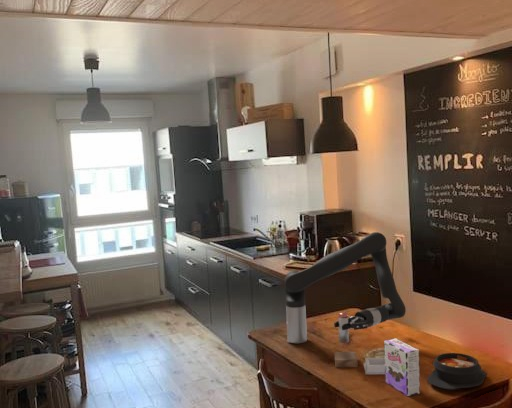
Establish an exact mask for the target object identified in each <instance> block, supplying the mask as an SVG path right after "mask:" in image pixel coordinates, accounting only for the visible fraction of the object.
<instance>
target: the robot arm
mask: <svg viewBox="0 0 512 408" xmlns="http://www.w3.org/2000/svg"><path fill="white" fill-rule="evenodd" d="M367 256H371V258H372V261H373V263H374V264H373V265H374V267H375V271H376V276H377V277H376V278H377V282H378V286H379V290H380V293H381V297H382V298H383V299H388V300H389V303H385V304H383V305H380V306H375V307H370V308H366V309H362V310H358V311H356V312H355V314H354V315H351V316H348V323H347V324H343V325H342V330H346V329H349V330H354V331H356V330H366V329H368V328H371V327H373V326H377V325H379V324H381V323H382V324H383V323H385V322H387V321H389V320H394V319H401V318H404V316H405V314H406V306H405V303H404V301H403V300H402V298H401V295H400V294H399V292H398V290H397V285H396V282H395V279H394V275H393V274H392V271H391V268H390V264H389V261H388V255H387V238H386V236H385V235H384V234H382V233H381V232H378V231H376V232H375V231H374V232H371V233H370V234H367V235H366V236H365V237H363V238H362V239H360V240H358V241H357V242H355V243H352V244H350V245H348V246H345V247H342V248H340V249H337V250H335V251H333V252H331V253H329V254H327V255H325V256H323V257H321V258H320V259H318V260H317V261H316V262H315V263H313V264H312V265H310V266H309V267H307V268H305V269H303V270H300V271H299V270H291V271H289V272H287V273H286V276H285V277H284V287H285V308H286V309H285V310H286V311H285V312H286V313H285V314H286V336H287V337H286V338H287V339H286V340H287V343H291V344H304V343H307V341H308V335H307V334H308V333H307V332H308V331H307V326H308V325H307V313H306V312H307V311H306V306H307V305H306V288H308V287H309V286H311V285H312V284H314V283H316V282H318V281H320V280H323V279H326V278H328V277H330V276H332V275H335V274H337V273H339V272H341V271H343V270H345V269H347V268H349V267H350V266H352V265H353V264H354V263H355V262H357V261H359V260H360V259H362V258H364V257H367ZM333 324H334V325H333V326H334V328H339V320H337V321H334V322H333Z"/></svg>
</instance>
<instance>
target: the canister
mask: <svg viewBox="0 0 512 408" xmlns="http://www.w3.org/2000/svg"><path fill="white" fill-rule="evenodd" d="M337 315H338V321H339V327H338V342H339V343H342V344H347V343H349V341H350V340H349V339H350V337H349V336H350V335H349V334H350V333H349V331H350V329H346V330H342V325H343V324H347V323H348V317H349V313H348V312H347V311H339V312H338V314H337Z"/></svg>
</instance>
